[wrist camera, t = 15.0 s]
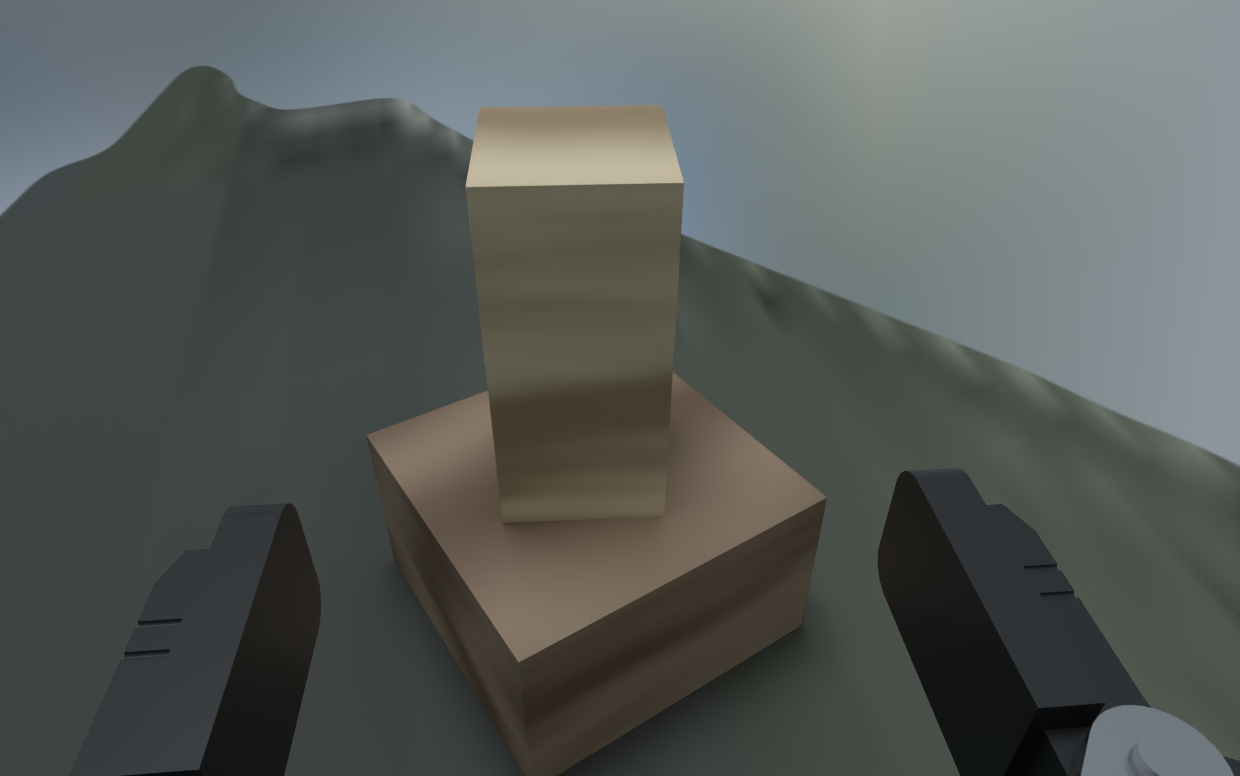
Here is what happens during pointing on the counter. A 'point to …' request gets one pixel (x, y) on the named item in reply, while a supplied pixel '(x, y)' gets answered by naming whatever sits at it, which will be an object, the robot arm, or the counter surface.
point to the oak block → (577, 305)
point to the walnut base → (597, 575)
